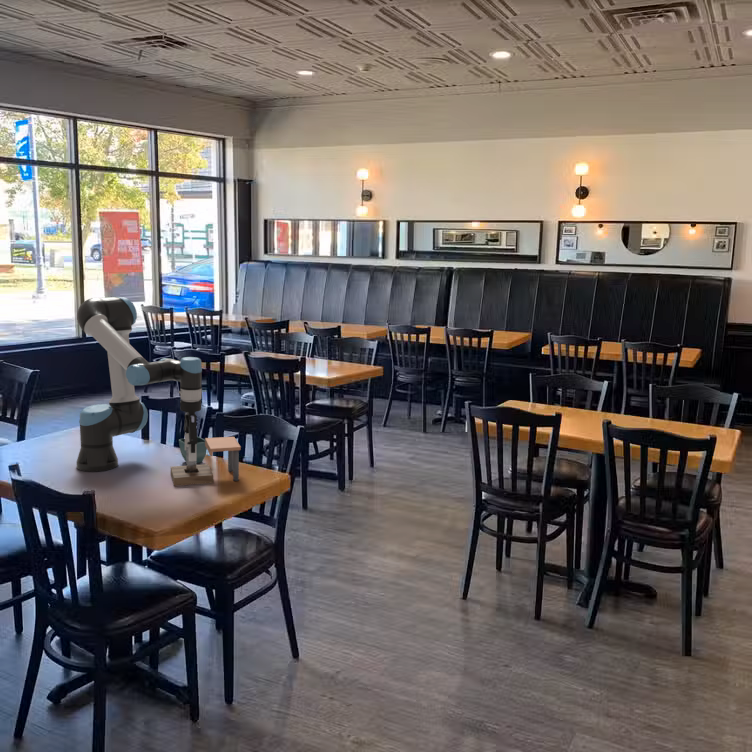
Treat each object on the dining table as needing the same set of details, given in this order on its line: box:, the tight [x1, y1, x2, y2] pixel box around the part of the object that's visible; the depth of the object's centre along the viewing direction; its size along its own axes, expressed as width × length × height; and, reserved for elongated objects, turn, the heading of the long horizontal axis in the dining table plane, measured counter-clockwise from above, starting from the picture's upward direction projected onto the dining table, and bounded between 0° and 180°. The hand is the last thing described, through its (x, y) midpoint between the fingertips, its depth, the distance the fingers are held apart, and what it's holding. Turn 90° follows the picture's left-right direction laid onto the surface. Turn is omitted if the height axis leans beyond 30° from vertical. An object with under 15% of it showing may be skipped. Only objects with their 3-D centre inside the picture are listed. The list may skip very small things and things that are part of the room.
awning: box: [204, 436, 242, 482], centre depth 287 cm, size 15×11×13 cm
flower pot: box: [178, 436, 208, 464], centre depth 303 cm, size 9×9×9 cm
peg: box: [185, 447, 197, 473], centre depth 283 cm, size 4×4×12 cm
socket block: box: [170, 463, 214, 487], centre depth 284 cm, size 14×14×3 cm
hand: (190, 455), depth 283 cm, fingers open, 13 cm apart
